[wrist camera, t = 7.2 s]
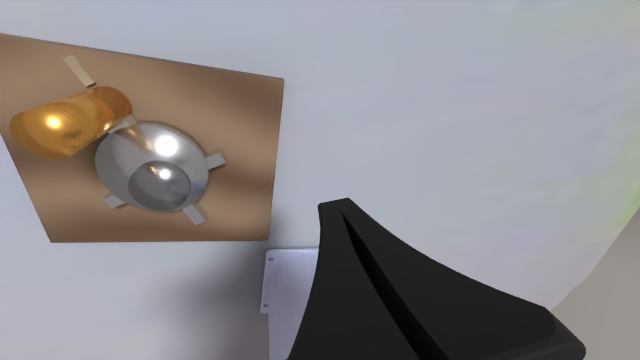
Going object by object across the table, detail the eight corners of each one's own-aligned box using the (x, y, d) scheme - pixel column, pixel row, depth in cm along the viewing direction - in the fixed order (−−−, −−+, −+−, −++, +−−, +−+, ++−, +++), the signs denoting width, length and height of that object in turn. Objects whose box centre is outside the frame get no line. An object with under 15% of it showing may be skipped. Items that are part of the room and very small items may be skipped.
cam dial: (251, 197, 19) (248, 245, 14) (153, 236, 19) (122, 296, 14) (165, 59, 13) (120, 72, 9) (27, 114, 13) (-82, 153, 9)
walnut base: (267, 231, 22) (268, 242, 21) (62, 230, 18) (48, 244, 17) (282, 78, 16) (284, 82, 15) (-22, 29, 12) (-52, 29, 11)
